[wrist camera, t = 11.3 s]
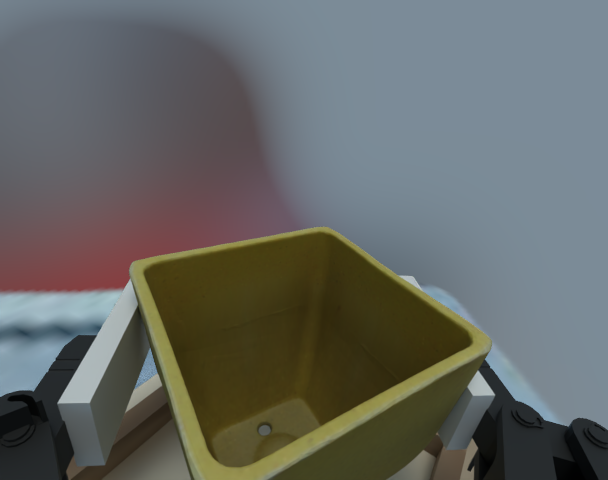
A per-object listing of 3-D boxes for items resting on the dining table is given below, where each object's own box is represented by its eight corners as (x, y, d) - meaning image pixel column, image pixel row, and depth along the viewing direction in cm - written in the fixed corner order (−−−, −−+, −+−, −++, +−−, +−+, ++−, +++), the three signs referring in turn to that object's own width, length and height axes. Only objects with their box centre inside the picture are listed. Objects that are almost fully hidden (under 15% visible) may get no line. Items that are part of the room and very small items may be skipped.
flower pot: (150, 423, 16) (124, 256, 12) (308, 359, 21) (328, 221, 16) (214, 681, 10) (205, 513, 6) (422, 507, 14) (502, 342, 10)
